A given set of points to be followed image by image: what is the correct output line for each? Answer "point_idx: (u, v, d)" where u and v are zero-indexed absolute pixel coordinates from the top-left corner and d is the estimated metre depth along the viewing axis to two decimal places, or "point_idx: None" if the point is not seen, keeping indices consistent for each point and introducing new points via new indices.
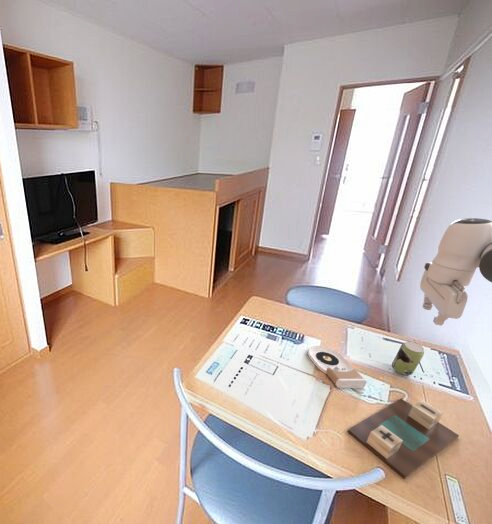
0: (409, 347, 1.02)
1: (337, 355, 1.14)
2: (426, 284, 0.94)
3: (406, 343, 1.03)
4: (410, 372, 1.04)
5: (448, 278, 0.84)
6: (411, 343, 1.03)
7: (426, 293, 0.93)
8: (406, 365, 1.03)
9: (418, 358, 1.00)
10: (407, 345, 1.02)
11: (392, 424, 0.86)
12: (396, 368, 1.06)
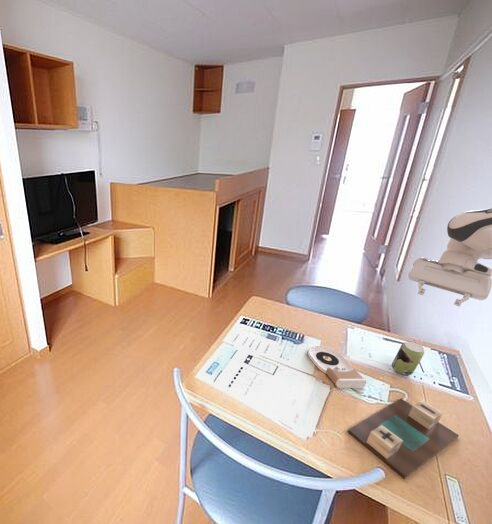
0: (409, 347, 1.02)
1: (337, 355, 1.14)
2: None
3: (406, 343, 1.03)
4: (410, 372, 1.04)
5: None
6: (411, 343, 1.03)
7: None
8: (406, 365, 1.03)
9: (418, 358, 1.00)
10: (407, 345, 1.02)
11: (392, 424, 0.86)
12: (396, 368, 1.06)
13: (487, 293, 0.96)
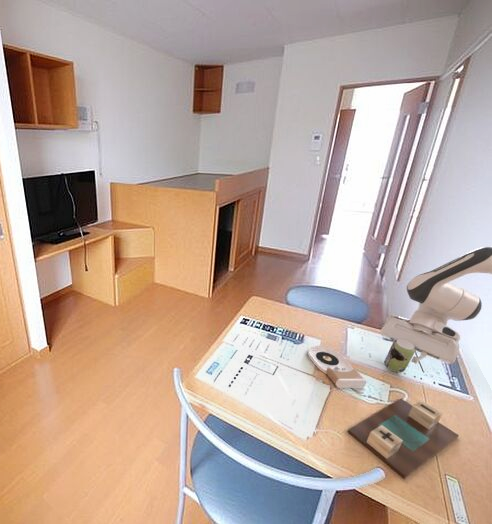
0: (402, 345, 1.02)
1: (337, 355, 1.14)
2: None
3: (397, 341, 1.04)
4: (403, 369, 1.05)
5: None
6: (401, 341, 1.04)
7: None
8: (400, 363, 1.04)
9: (411, 355, 1.02)
10: (399, 343, 1.03)
11: (392, 424, 0.86)
12: (390, 367, 1.07)
13: (454, 358, 0.97)
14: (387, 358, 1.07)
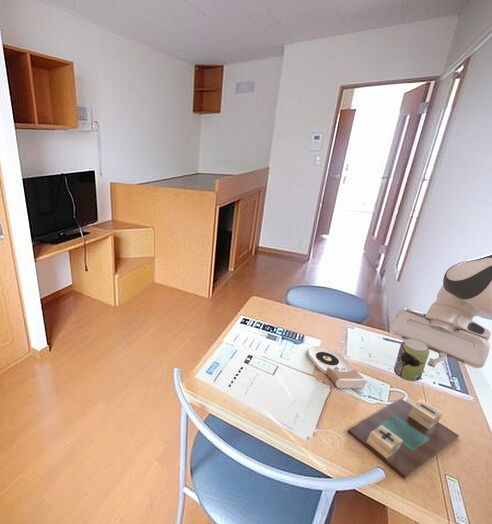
0: (413, 347, 0.83)
1: (337, 355, 1.14)
2: None
3: (406, 343, 0.85)
4: (420, 376, 0.85)
5: None
6: (410, 341, 0.85)
7: None
8: (416, 370, 0.84)
9: (427, 357, 0.82)
10: (410, 345, 0.84)
11: (392, 424, 0.86)
12: (405, 376, 0.86)
13: (483, 361, 0.77)
14: (398, 366, 0.87)
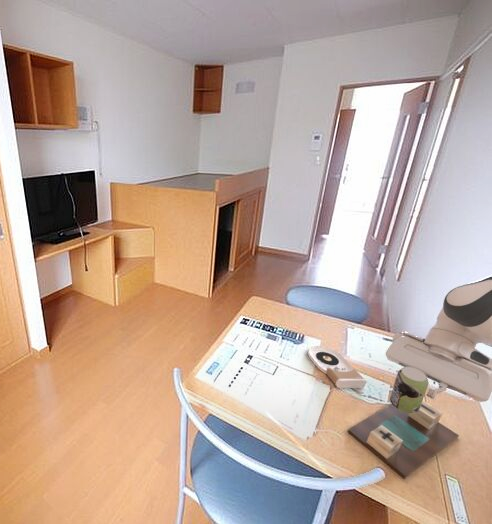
0: (411, 377, 0.76)
1: (337, 355, 1.14)
2: None
3: (403, 372, 0.78)
4: (419, 408, 0.78)
5: None
6: (407, 370, 0.78)
7: None
8: (414, 401, 0.77)
9: (426, 388, 0.75)
10: (407, 374, 0.77)
11: (392, 424, 0.86)
12: (402, 408, 0.79)
13: (487, 395, 0.70)
14: (395, 396, 0.80)
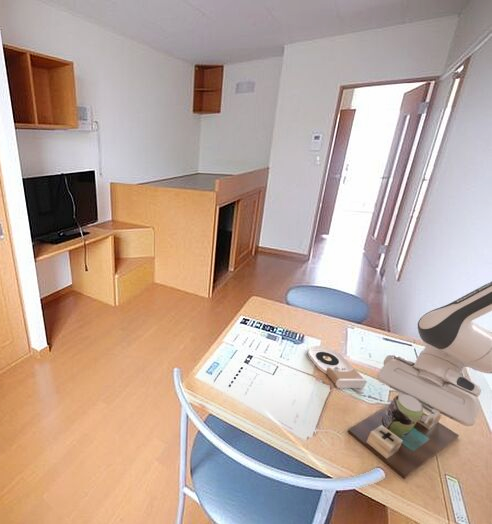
0: (407, 406, 0.78)
1: (337, 355, 1.14)
2: None
3: (400, 400, 0.79)
4: None
5: None
6: (404, 397, 0.80)
7: None
8: (406, 427, 0.80)
9: (419, 417, 0.78)
10: (403, 403, 0.79)
11: None
12: (393, 431, 0.82)
13: (473, 420, 0.73)
14: (387, 419, 0.83)
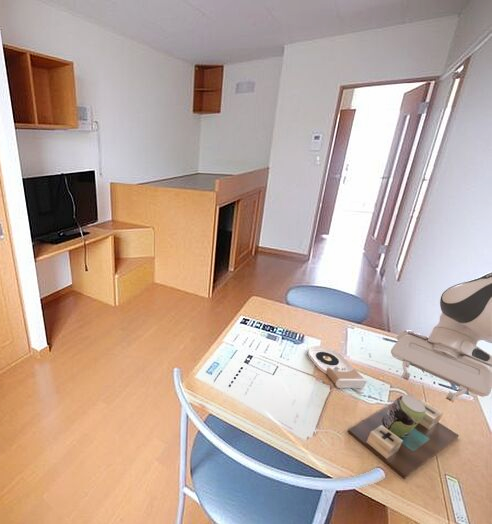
0: (411, 406, 0.78)
1: (337, 355, 1.14)
2: None
3: (404, 400, 0.79)
4: (409, 433, 0.81)
5: None
6: (407, 398, 0.80)
7: None
8: (407, 428, 0.80)
9: None
10: (407, 403, 0.79)
11: None
12: (393, 431, 0.82)
13: (488, 390, 0.74)
14: (388, 419, 0.83)
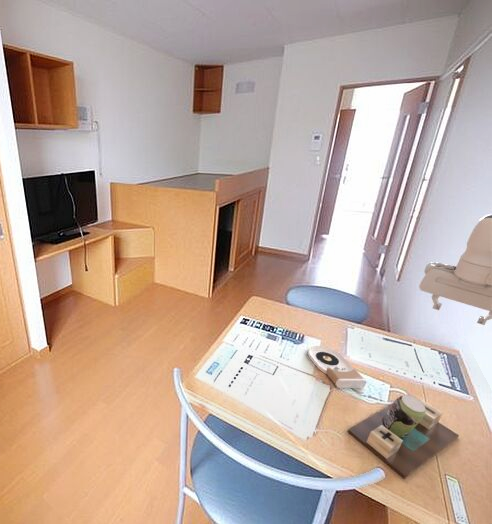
0: (411, 406, 0.78)
1: (337, 355, 1.14)
2: None
3: (404, 400, 0.79)
4: (409, 433, 0.81)
5: None
6: (407, 398, 0.80)
7: None
8: (407, 428, 0.80)
9: None
10: (407, 403, 0.79)
11: None
12: (393, 431, 0.82)
13: None
14: (388, 419, 0.83)
